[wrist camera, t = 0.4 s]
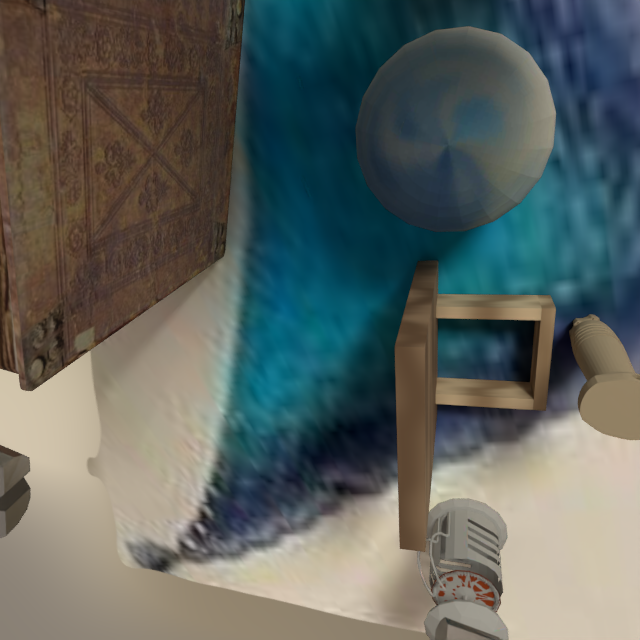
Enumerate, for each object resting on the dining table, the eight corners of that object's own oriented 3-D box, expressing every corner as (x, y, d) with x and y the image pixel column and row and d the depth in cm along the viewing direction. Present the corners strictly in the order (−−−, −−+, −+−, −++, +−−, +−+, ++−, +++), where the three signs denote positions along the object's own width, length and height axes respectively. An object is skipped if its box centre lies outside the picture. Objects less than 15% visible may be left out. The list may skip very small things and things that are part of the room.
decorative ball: (380, 30, 47) (347, 7, 34) (561, 40, 44) (603, 20, 31) (363, 201, 53) (329, 240, 40) (520, 220, 50) (541, 269, 37)
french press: (460, 571, 69) (457, 805, 46) (398, 511, 67) (365, 721, 45) (525, 540, 64) (557, 781, 42) (460, 474, 63) (458, 687, 41)
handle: (611, 357, 53) (661, 448, 40) (545, 342, 54) (571, 426, 41) (630, 313, 51) (689, 393, 38) (560, 298, 52) (593, 371, 39)
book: (224, 257, 59) (27, 398, 33) (148, 239, 61) (-100, 360, 34) (246, -8, 48) (-25, -123, 22) (152, -22, 50) (-209, -147, 23)
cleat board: (553, 260, 51) (601, 353, 33) (538, 421, 58) (571, 570, 40) (417, 260, 54) (394, 346, 36) (418, 413, 61) (399, 548, 43)
